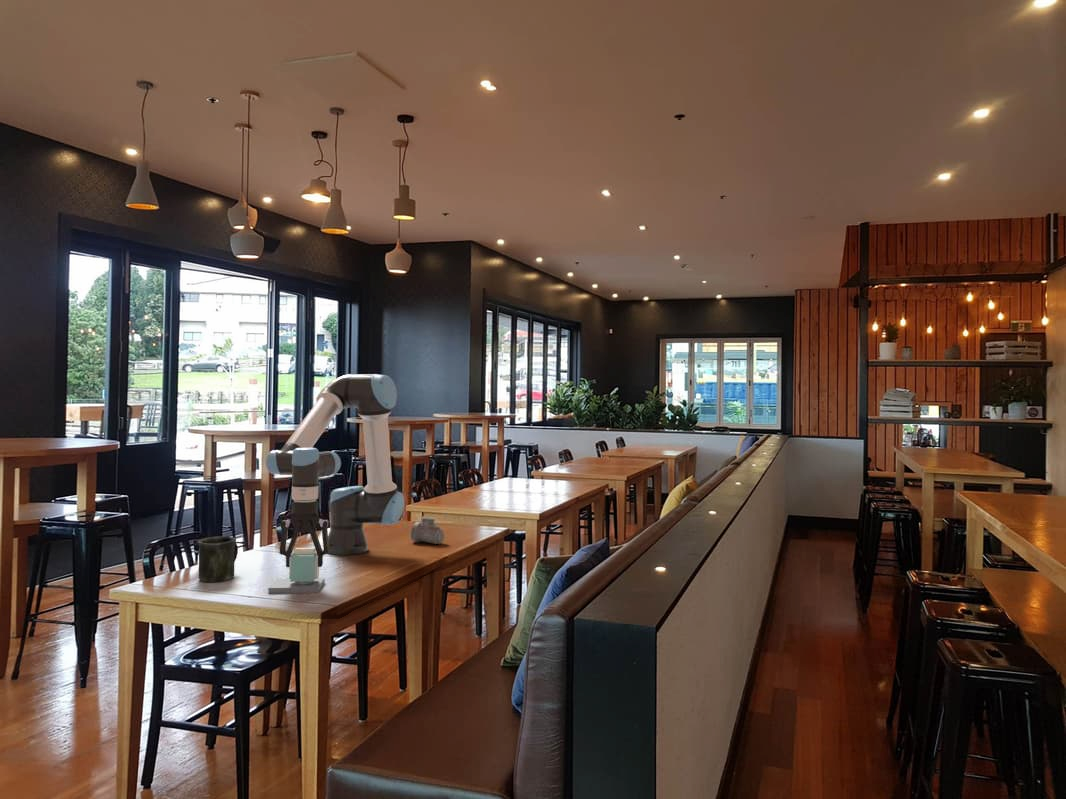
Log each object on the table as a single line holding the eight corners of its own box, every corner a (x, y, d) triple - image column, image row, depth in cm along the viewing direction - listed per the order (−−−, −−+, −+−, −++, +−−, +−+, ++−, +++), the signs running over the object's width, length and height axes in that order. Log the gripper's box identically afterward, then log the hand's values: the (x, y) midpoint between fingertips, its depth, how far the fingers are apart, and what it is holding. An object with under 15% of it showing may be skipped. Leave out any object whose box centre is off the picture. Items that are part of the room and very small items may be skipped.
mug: (188, 581, 233) (189, 542, 233) (221, 570, 247) (221, 533, 247) (219, 584, 230) (219, 544, 230) (250, 573, 244) (250, 536, 244)
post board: (277, 583, 232) (277, 561, 232) (324, 583, 234) (324, 561, 234) (268, 593, 221) (268, 570, 221) (317, 592, 223) (318, 570, 223)
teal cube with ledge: (290, 581, 224) (290, 550, 224) (295, 576, 231) (295, 546, 231) (313, 581, 225) (313, 550, 225) (317, 575, 231) (318, 546, 231)
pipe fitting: (407, 542, 294) (412, 515, 294) (420, 540, 302) (424, 514, 302) (433, 549, 289) (437, 522, 289) (445, 547, 296) (449, 520, 296)
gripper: (267, 502, 223) (267, 581, 223) (336, 502, 225) (335, 580, 225) (274, 498, 230) (273, 575, 231) (340, 498, 232) (339, 574, 232)
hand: (304, 577), depth 228 cm, fingers closed on teal cube with ledge, 7 cm apart
